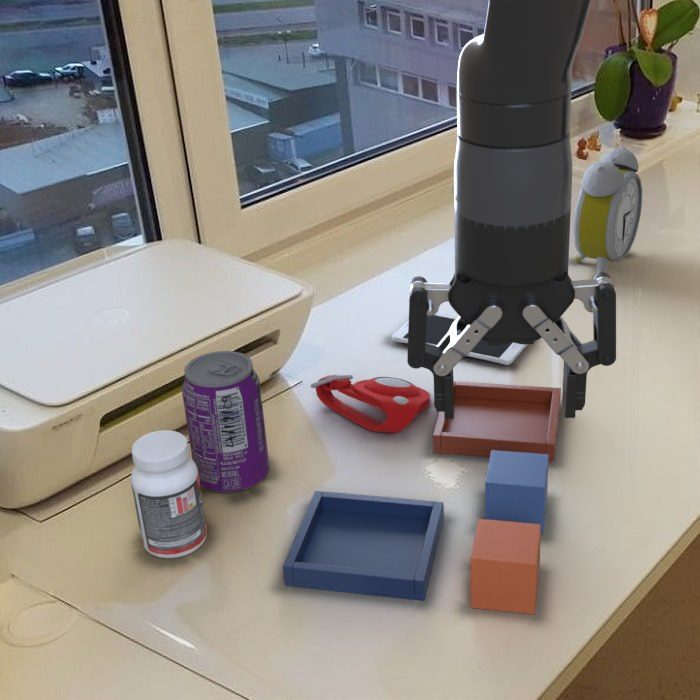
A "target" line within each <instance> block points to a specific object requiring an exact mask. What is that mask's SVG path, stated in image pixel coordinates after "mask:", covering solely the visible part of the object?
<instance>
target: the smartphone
mask: <svg viewBox="0 0 700 700" xmlns="http://www.w3.org/2000/svg"><path fill="white" fill-rule="evenodd" d="M456 319H457V318H455V317H450V316H444V315H441V314H440V315H439V314H435V315H433V316H427V320H426V343H427V344H431V345H434V346H437V345H438V344H439V343H440V341H441V340H442V339H443V338H444V337H445V335H446V334H447V333H448V332H449V330H450V327H451V325H452V324H453V322H454V321H455V320H456ZM408 328H409V320H408V321H406V322H405V323H404V324H403V325H401V327H399V329H398V330H396V331H395V332H394V333H393V334H392V335H391V340H392V341H393V342H396V343H400V344H405V345H408ZM528 345H529V344H518V343H513V342H509V343H505V344H501V345H488V342H485V341H483V340H480V341H479V342H478V344H477V345H476V346H475V347H474V348H473V349H472V351H471V352H470V353H469V354H468V355H467V356H465V358H466V357H467V358H471V359H475V360H481V361H486V362H489V363H494V364H500V365H504V366H510V365H512V364H513V363H514V361H515V360H517V358H518V357H519V356H520V354H522V352H523V351H524V350H525V348H527V347H528Z"/></svg>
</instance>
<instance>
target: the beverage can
mask: <svg viewBox="0 0 700 700" xmlns="http://www.w3.org/2000/svg"><path fill="white" fill-rule="evenodd" d="M183 371H184V380H183V383H182V385H181V395H182V401H183V408H184V414H185V415H184V416H185V421H186V428H187V434H188V441H189V447H190V448H189V449H190V453H191V454H190V455H191V459H192V460H193V461H194V462H195V464H196V466H197V469H198V474H199V481H200V487H203V488H204V489H207V490H208V491H213V492H218V493H231V492H239V491H243V490H246V489H250V488H252V487H254V486H255V485H258V484H259V483H260V482H261V481H263V480H264V479H265V478H266V476H267V475H268V473H269V471H270V460H269V452H268V451H269V450H268V443H267V433H266V424H265V415H264V408H263V407H264V406H263V399H262V398H263V397H262V389H261V381H260V377H259V375H258V373H257V372H256V370H255V369H254V364H253V360H252V359H251V358H250V357H249V355H247V354H245V353H242V352H238V351H232V350H219V351H218V350H217V351H212V352H207V353H203V354H201V355H198V356H196V357H195V358H192V359H191V360H190V361H188V362H187V364H186V365H185V367H184V369H183Z"/></svg>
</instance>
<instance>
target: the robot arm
mask: <svg viewBox="0 0 700 700" xmlns="http://www.w3.org/2000/svg"><path fill="white" fill-rule="evenodd" d="M592 1H593V0H488V6H487V12H486V13H487V14H486V18H485V19H486V20H485V25H484V32H483V34H480V35H478V36H476V37H474V38H473V39H471V40H469V41H468V42H467V43H466V44H465V45H464V47H463V48H462V50H461V52H460V55H459V58H458V65H457V78H456V80H457V81H456V119H457V120H456V123H457V124H456V125H457V127H456V129H457V131H456V132H457V134H456V135H457V136H456V149H455V156H454V163H453V164H454V165H453V184H452V194H453V214H454V215H453V216H454V217H453V218H454V221H453V222H454V223H453V225H454V229H453V230H454V273H453V276H452V278H451V279H450V280H451V281H449V283H437V282H428V280H427V279H426V278H425V277H424V276H420V275H418V276H417V275H416V276H414V277H412V278H411V280H410V282H409V299H408V300H409V301H408V302H409V303H408V304H409V305H408V321H409V328H408V344H407V357H406V358H407V360H406V362H407V365H408V366H409V367H410V368H411V369H416V370H417V369H421V368H423V369H425V370H429V371H430V373H432V376H433V407H434V408H435V410H436V412H437V413H439V412H444V419H454V382H453V381H454V369H455V367H456V366H457V365H458V364H459V362H460V361H461V360H462V359H463V358H464V357H466V356H467V355H468V354H469V353H470V352H471V351H472V349H473V348H474V347H475V346H476V345H477V344H478V342H479V341H480V340H483V341H485V342H488V345H501V344H505V343H509V342H513V343H518V344H528V345H535V342H536V341H539V340H541V339H543V341H544V342H545V343H546V344H547V346H548V347H550V349H551V350H552V351H553V353H554V354H556V355H557V356H559V357H560V358H561V359H562V360H563V369H562V370H563V373H562V391H561V402H562V404H561V406H562V412H563V417H564V419H576V411H583V409H584V407H585V405H586V398H587V397H586V395H587V376H588V372H589V371H590V369H592V368H594V367H597V366H600V365H602V366H604V367H610V366H612V365H614V364H615V362H616V361H617V292H616V290H615V285H614V284H613V281H612V278H611V275H610V274H608V273H607V272H605V273H604V272H601V273H598V274H597V273H596V274H595V275H594V276H593V278H592V279H591V278H590V279H581V280H572V278H571V277H570V275H569V260H570V259H569V257H570V238H571V217H572V216H571V214H572V190H573V156H572V148H571V147H572V146H571V115H572V113H571V112H572V90H573V89H572V88H573V65H574V62H575V58H576V56H577V52H578V49H579V46H580V44H581V41H582V37H583V35H584V32H585V27H586V24H587V20H588V17H589V13H590V9H591V5H592ZM575 299H577V300H579V301H581V302H582V303H583V307H584V309H585V311H586V312H588V313H592V318H593V319H592V322H593V323H592V326H593V329H592V330H593V331H592V332H593V334H592V335H593V340H590V341H587V342H584V343H582V342H581V341H580V340H579V339H578V337H577V336H576V335H575V333H573V331H572V330H571V329H570V328H569V325H568V324H567V321H565V320H564V318H563V317H562V316H563V315H564V314H565V312H567V310H568V309H569V308H570V306H571V305H572V304H573V303H574V300H575ZM446 302H448V303H449V306H450V307H451V308H452V309H453V310H454V312H455V313H456V314H457V315H458V316H457V317H456V318H455V319H456V320H455V321H454V322H453V324H452V325H451V327H450V330H449V332H448V333H447V334H446V335H445V337H444V338H443V339H442V340H441V341H440V343H439V344H438V345H437V346H434V345H431V344H427V343H426V320H427V316H433V315H437V314H438V312H439V308H440V306H441V305H442V304H443V303H446Z"/></svg>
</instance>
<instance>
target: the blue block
mask: <svg viewBox="0 0 700 700" xmlns="http://www.w3.org/2000/svg"><path fill="white" fill-rule="evenodd" d="M549 463H550V461H549V455H548V454H536V453H523V452H510V451H497V450H492V451H491V456H490V457H489V462H488V466H487V471H486V476H485V481H484V519H487V520H498V521H509V522H520V523H531V524H540V525H541V536H543V535H544V533H545V525H546V524H545V523H546V514H547V507H548V506H547V505H548V485H549Z"/></svg>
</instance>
